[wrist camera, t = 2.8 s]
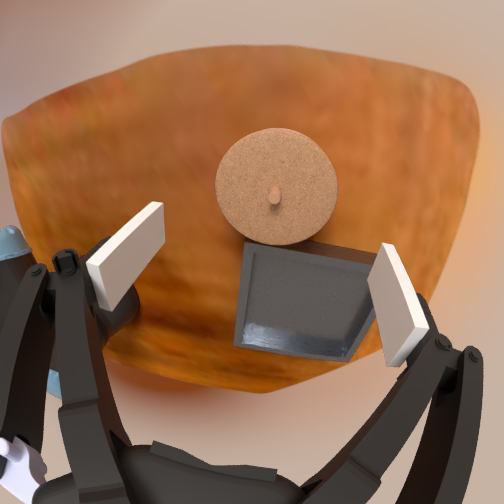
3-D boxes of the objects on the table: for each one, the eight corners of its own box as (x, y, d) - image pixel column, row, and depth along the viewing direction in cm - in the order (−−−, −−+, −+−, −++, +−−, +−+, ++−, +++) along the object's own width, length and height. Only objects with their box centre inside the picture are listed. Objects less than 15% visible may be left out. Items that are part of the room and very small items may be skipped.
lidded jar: (344, 148, 27) (364, 169, 19) (303, 226, 33) (304, 272, 25) (253, 107, 26) (234, 111, 18) (221, 191, 32) (194, 227, 24)
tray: (236, 331, 44) (233, 345, 42) (248, 230, 34) (244, 242, 31) (347, 348, 43) (348, 362, 41) (393, 257, 33) (399, 270, 30)
